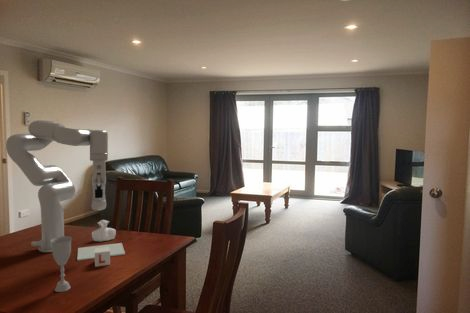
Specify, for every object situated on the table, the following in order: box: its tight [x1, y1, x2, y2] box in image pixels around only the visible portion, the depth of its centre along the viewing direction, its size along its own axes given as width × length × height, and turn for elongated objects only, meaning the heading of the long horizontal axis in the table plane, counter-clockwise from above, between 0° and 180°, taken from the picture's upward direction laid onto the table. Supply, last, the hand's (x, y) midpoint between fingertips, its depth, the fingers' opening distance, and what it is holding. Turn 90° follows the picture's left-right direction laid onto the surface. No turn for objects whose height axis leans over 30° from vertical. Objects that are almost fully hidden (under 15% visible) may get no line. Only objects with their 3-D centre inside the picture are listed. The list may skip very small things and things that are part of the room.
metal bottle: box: [90, 166, 107, 211], centre depth 152 cm, size 6×7×20 cm
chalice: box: [51, 235, 73, 293], centre depth 119 cm, size 7×7×18 cm
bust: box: [91, 219, 117, 243], centre depth 175 cm, size 12×8×11 cm
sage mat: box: [76, 242, 126, 262], centre depth 157 cm, size 20×16×1 cm
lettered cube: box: [94, 247, 111, 268], centre depth 143 cm, size 6×6×6 cm
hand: (98, 196), depth 153 cm, fingers closed on metal bottle, 5 cm apart
